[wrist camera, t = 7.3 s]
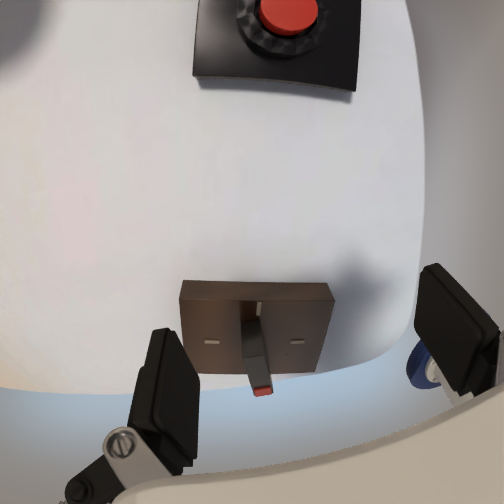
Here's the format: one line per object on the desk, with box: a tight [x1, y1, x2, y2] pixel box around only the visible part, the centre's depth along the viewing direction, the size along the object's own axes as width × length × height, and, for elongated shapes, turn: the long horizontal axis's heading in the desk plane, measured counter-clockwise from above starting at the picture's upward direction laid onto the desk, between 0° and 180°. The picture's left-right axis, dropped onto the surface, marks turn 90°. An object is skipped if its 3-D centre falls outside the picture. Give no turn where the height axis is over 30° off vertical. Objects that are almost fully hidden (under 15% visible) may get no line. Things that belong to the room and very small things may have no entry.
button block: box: [192, 0, 361, 92], centre depth 17 cm, size 12×10×4 cm
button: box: [259, 0, 318, 36], centre depth 15 cm, size 4×4×2 cm
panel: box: [179, 280, 335, 374], centre depth 31 cm, size 14×10×3 cm
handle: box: [241, 320, 273, 397], centre depth 27 cm, size 6×2×5 cm, turn 10°
